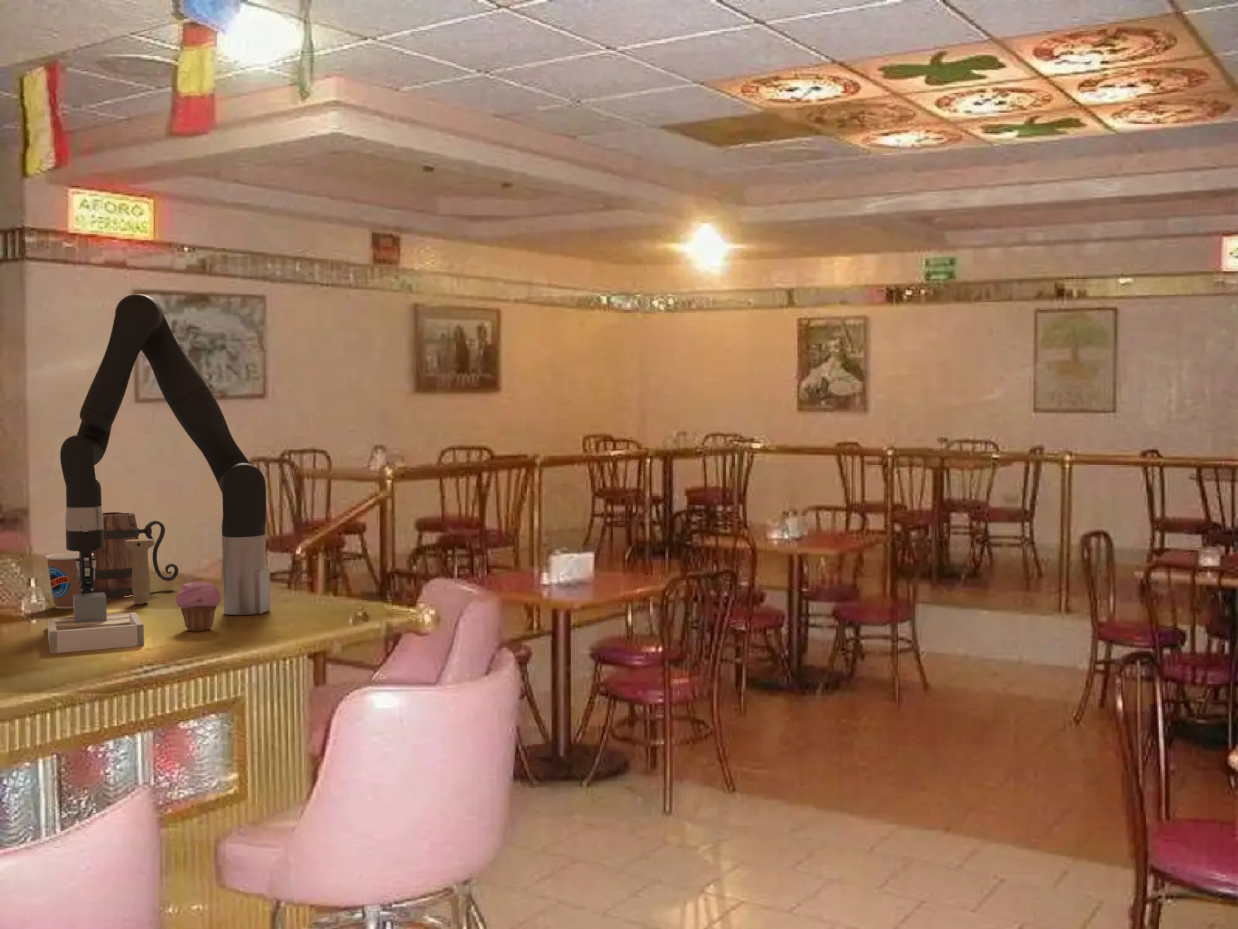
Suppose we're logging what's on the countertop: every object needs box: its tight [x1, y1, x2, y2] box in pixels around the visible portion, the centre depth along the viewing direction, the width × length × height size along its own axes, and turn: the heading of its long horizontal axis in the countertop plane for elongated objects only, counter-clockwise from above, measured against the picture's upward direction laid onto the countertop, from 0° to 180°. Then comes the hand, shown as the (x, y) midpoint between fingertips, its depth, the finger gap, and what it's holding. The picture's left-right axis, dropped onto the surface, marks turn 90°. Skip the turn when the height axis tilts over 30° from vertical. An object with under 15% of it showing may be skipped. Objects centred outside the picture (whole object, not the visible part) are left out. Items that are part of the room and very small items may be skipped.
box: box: [47, 612, 145, 654], centre depth 248 cm, size 17×16×4 cm
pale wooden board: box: [46, 612, 130, 631], centre depth 262 cm, size 14×16×2 cm
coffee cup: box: [45, 552, 94, 610], centre depth 295 cm, size 10×10×12 cm
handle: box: [125, 538, 155, 605], centre depth 297 cm, size 5×6×15 cm
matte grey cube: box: [72, 592, 108, 623], centre depth 263 cm, size 7×6×5 cm
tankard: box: [92, 511, 179, 600], centre depth 316 cm, size 24×17×20 cm
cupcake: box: [175, 580, 221, 633], centre depth 261 cm, size 9×9×10 cm
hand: (87, 607), depth 274 cm, fingers closed
